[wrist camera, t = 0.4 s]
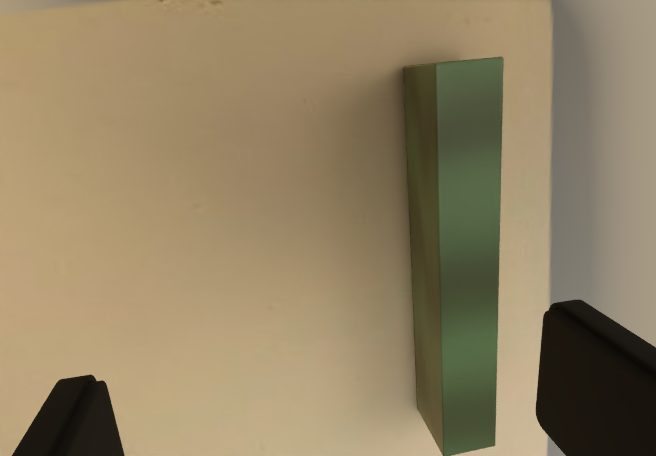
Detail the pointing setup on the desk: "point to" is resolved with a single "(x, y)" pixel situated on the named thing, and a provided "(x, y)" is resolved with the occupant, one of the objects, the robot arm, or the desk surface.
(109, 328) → the desk surface
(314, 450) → the desk surface
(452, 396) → the bar
